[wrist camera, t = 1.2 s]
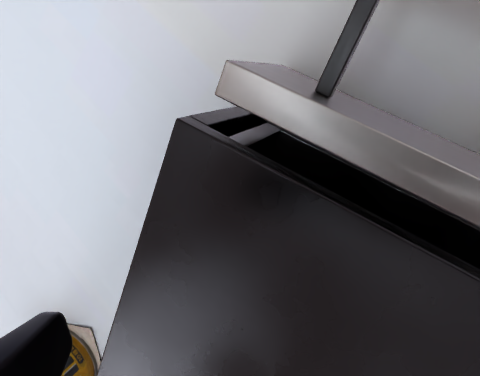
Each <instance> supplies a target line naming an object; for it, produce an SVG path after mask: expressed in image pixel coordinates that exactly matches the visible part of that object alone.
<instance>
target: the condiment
mask: <svg viewBox="0 0 480 376" xmlns="http://www.w3.org/2000/svg"><path fill="white" fill-rule="evenodd" d="M68 328H69V331H70V334H71V336H72V341H73V344H72V350H71V353H70V355H69V358H68V360H67V363H66V365H65V368H64V370H63V373H62V376H97V373H98V369H99V366H100V363H101V361H100V357H99V354H98V350H97V346H96V344H95V339H94V336H93V333H92V331H91V330H90V329H89V328H84V327H79V326H74V325H68Z"/></svg>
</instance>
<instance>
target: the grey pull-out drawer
mask: <svg viewBox="0 0 480 376" xmlns="http://www.w3.org/2000/svg"><path fill="white" fill-rule="evenodd" d="M379 1H380V0H357V1H356V3H355V5H354V7H353V9H352V11H351V14H350V16H349V18H348V20H347V22H346V24H345V26H344V29H343V31H342V33H341V35H340V37H339V39H338V41H337V44H336V46H335V48H334V50H333V52H332V54H331V56H330V59H329V61H328V63H327V65H326V67H325V69H324V71H323V74H322V76H321V78H320V80H319V81H317V80H315V79H312V78H310V77H308V76H306V75H304V74H301V73H299V72H297V71H295V70H293V69H290V68H288V67H286V66H284V65H277V64H266V63H255V62H244V61H233V60H227V61H226V63H225V66H224V69H223V71H222V74H221V77H220V80H219V83H218V86H217V89H216V92H215V95H216V96H218V97H220V98H222V99H224V100H226V101H228V102H230V103H232V104H234V105H236V106H238V107H240V108H242V109H244V110H246V111H248V112H250V113H252V114H254V115H256V116H258V117H260V118H262V119H264V120H266V121H268V123H265V124H262V125H259V126H256V127H254V128H251V129H248V130H245V131H242V132H240V133H237V134H234V135H231V136H228V137H229V138H231V139H233V140H235V141H237V142H239V143H241V144H243V145H244V146H246V147H248V148H250V149H252V150H254V151H256V152H258V153H260V154H262V155H263V156H265V157H267V158H269V159H271V160H273V161H275V162H277V163H279V164H281V165H283V166H284V167H286V168H288V169H290V170H292V171H294V172H296V173H298V174H300V175H302V176H303V177H305V178H307V179H309V180H311V181H313V182H315V183H317V184H319V185H321V186H322V187H324V188H326V189H328V190H330V191H332V192H334V193H336V194H338V195H340V196H342V197H343V198H345V199H347V200H349V201H351V202H353V203H355V204H357V205H359V206H361V207H362V208H364V209H366V210H368V211H370V212H372V213H374V214H376V215H378V216H380V217H381V218H383V219H385V220H387V221H389V222H391V223H393V224H395V225H397V226H399V227H401V228H402V229H404V230H406V231H408V232H410V233H412V234H414V235H416V236H418V237H420V238H421V239H423V240H425V241H427V242H429V243H431V244H433V245H435V246H437V247H439V248H440V249H442V250H444V251H446V252H448V253H450V254H452V255H454V256H456V257H458V258H460V259H461V260H463V261H465V262H467V263H469V264H471V265H473V266H475V267H477V268H479V269H480V154H477V153H475V152H473V151H471V150H469V149H466V148H464V147H462V146H460V145H458V144H455V143H453V142H451V141H449V140H447V139H444V138H442V137H440V136H438V135H436V134H433V133H431V132H429V131H427V130H425V129H422V128H420V127H418V126H416V125H414V124H411V123H409V122H407V121H405V120H403V119H400V118H398V117H396V116H394V115H392V114H389V113H387V112H385V111H383V110H381V109H378V108H376V107H374V106H372V105H370V104H367V103H365V102H363V101H361V100H359V99H356V98H354V97H352V96H350V95H348V94H345V93H343V92H341V91H339V90H337V89H336V88H337V86H338V84H339V82H340V80H341V78H342V76H343V74H344V72H345V70H346V68H347V66H348V64H349V62H350V60H351V58H352V56H353V54H354V52H355V50H356V48H357V46H358V43H359V41H360V39H361V37H362V35H363V33H364V31H365V29H366V27H367V25H368V23H369V21H370V19H371V17H372V15H373V13H374V11H375V9H376V7H377V5H378V3H379Z"/></svg>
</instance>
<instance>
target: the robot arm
mask: <svg viewBox="0 0 480 376" xmlns="http://www.w3.org/2000/svg"><path fill="white" fill-rule="evenodd" d="M72 344H73V341H72V336H71V334H70V331H69V328H68V325H67V323H66V320H65V317H64V315H63V314H62V313H59V312H43V313H40V314H39V315H37V316H35V317H34V318H32V319H31V320H29V321H27V322H26V323H24V324H23V325H21V326H19V327H18V328H16V329H15V330H13V331H11V332H10V333H8V334H7V335H5V336H4V337H2V338H0V376H62V373H63V370H64V368H65V365H66V363H67V360H68V358H69V355H70V353H71V350H72Z"/></svg>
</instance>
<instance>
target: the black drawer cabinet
mask: <svg viewBox="0 0 480 376" xmlns="http://www.w3.org/2000/svg"><path fill="white" fill-rule="evenodd" d="M265 123H268V121H266V120H264V119H262V118H260V117H258V116H256V115H254V114H252V113H250V112H248V111H246V110H244V109H242V108H240V107H238V106H237V107H231V108H226V109H221V110H216V111H211V112H205V113H200V114H195V115H190V116H186V117H181V118H177V119H176V121H175V125H174V128H173V131H172V134H171V138H170V141H169V144H168V147H167V150H166V154H165V157H164V160H163V163H162V167H161V170H160V173H159V176H158V179H157V183H156V186H155V189H154V192H153V196H152V199H151V202H150V205H149V208H148V212H147V215H146V218H145V221H144V225H143V228H142V231H141V234H140V237H139V241H138V244H137V247H136V250H135V254H134V257H133V260H132V263H131V266H130V270H129V273H128V276H127V279H126V283H125V286H124V289H123V292H122V295H121V299H120V302H119V305H118V308H117V311H116V315H115V318H114V321H113V324H112V328H111V331H110V334H109V337H108V340H107V344H106V347H105V350H104V353H103V357H102V360H101V363H100V366H99V369H98V373H97V376H480V269H479V268H477V267H475V266H473V265H471V264H469V263H467V262H465V261H463V260H461V259H460V258H458V257H456V256H454V255H452V254H450V253H448V252H446V251H444V250H442V249H440V248H439V247H437V246H435V245H433V244H431V243H429V242H427V241H425V240H423V239H421V238H420V237H418V236H416V235H414V234H412V233H410V232H408V231H406V230H404V229H402V228H401V227H399V226H397V225H395V224H393V223H391V222H389V221H387V220H385V219H383V218H381V217H380V216H378V215H376V214H374V213H372V212H370V211H368V210H366V209H364V208H362V207H361V206H359V205H357V204H355V203H353V202H351V201H349V200H347V199H345V198H343V197H342V196H340V195H338V194H336V193H334V192H332V191H330V190H328V189H326V188H324V187H322V186H321V185H319V184H317V183H315V182H313V181H311V180H309V179H307V178H305V177H303V176H302V175H300V174H298V173H296V172H294V171H292V170H290V169H288V168H286V167H284V166H283V165H281V164H279V163H277V162H275V161H273V160H271V159H269V158H267V157H265V156H263V155H262V154H260V153H258V152H256V151H254V150H252V149H250V148H248V147H246V146H244V145H243V144H241V143H239V142H237V141H235V140H233V139H231V138H229V137H228V136H231V135H234V134H237V133H240V132H242V131H245V130H248V129H251V128H254V127H256V126H259V125H262V124H265Z"/></svg>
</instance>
